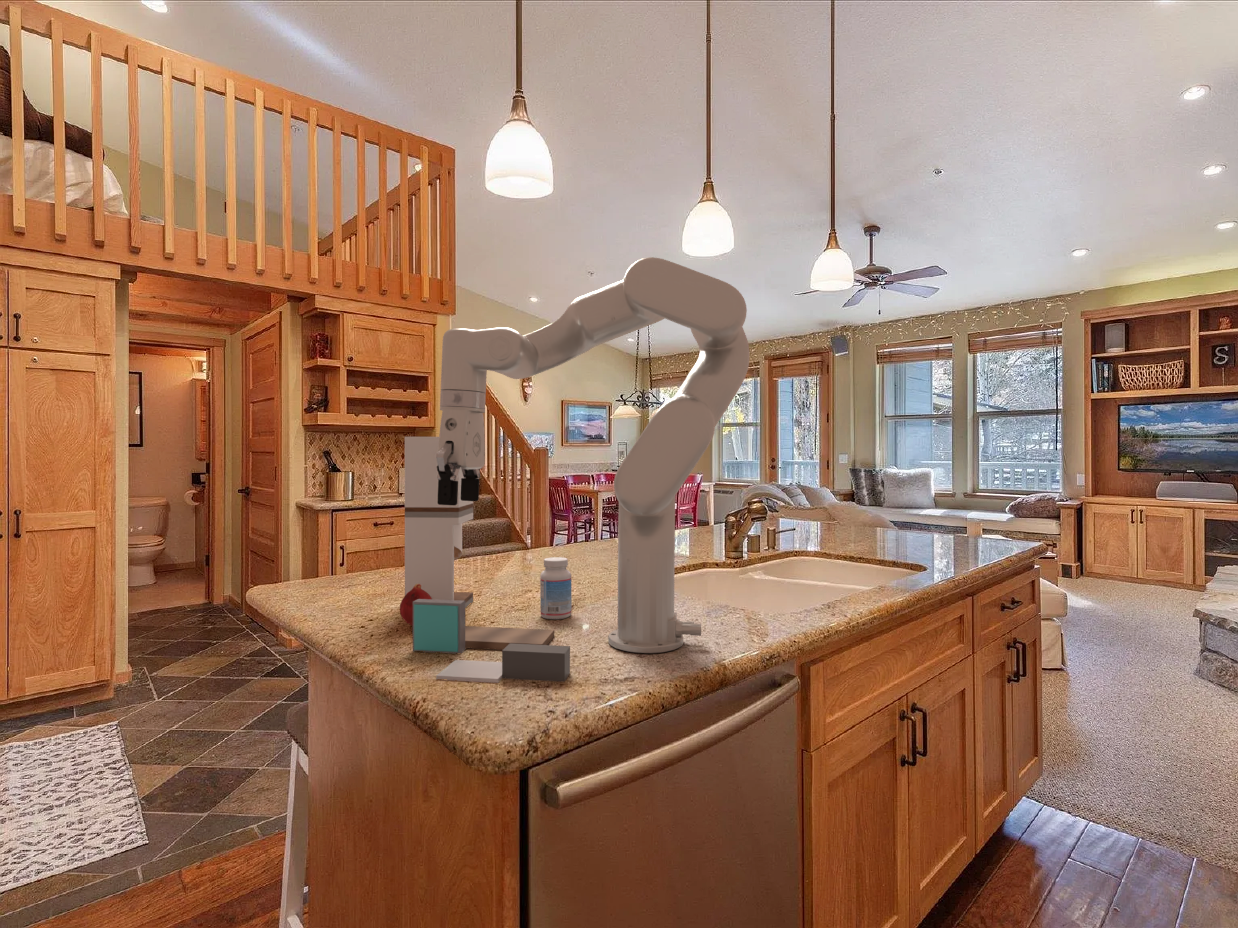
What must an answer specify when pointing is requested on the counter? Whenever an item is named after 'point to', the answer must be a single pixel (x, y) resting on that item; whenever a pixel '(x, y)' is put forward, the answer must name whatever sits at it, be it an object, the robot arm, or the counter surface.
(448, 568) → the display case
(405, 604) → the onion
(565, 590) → the pill bottle
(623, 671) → the counter surface
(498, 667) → the stepped grey white block
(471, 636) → the rest
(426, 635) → the tile
